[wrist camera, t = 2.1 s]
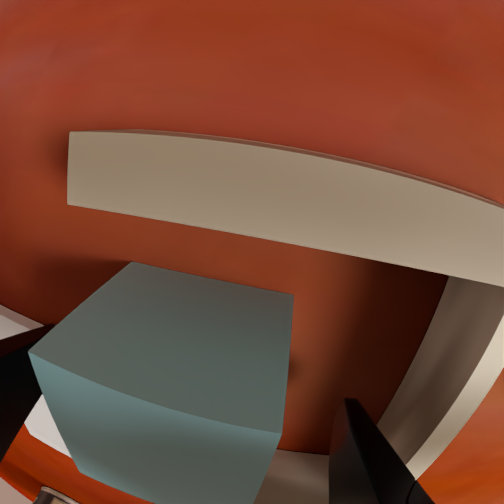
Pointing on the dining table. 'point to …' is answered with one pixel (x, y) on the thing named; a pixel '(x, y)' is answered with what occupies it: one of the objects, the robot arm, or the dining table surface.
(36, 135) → the dining table surface
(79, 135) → the birch cubby
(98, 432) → the teal cube
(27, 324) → the white flat slab
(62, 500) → the coffee can
